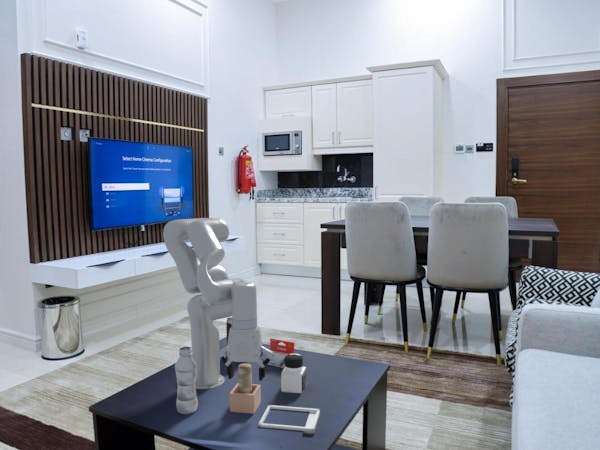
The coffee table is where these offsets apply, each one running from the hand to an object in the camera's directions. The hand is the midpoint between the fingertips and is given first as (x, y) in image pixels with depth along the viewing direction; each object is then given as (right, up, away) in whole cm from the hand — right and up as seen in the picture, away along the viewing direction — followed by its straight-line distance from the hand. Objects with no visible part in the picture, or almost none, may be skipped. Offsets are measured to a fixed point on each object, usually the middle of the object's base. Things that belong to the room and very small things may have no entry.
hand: (246, 378), depth 148 cm
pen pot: (0, -10, +1) cm, 10 cm away
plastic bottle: (-18, -10, 0) cm, 21 cm away
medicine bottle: (+14, -9, +15) cm, 23 cm away
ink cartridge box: (+9, -7, +36) cm, 38 cm away
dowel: (0, -9, +1) cm, 9 cm away
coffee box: (-8, -6, +43) cm, 44 cm away
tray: (+14, -11, -6) cm, 18 cm away
